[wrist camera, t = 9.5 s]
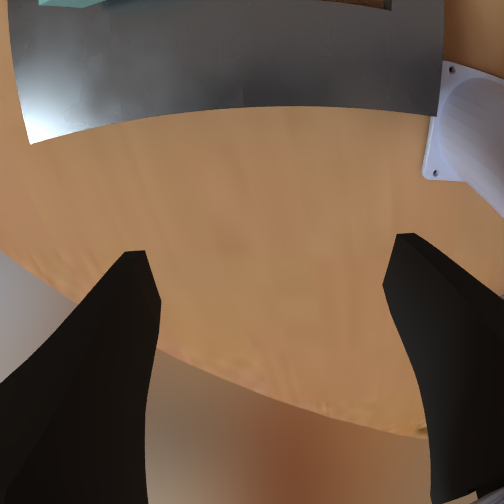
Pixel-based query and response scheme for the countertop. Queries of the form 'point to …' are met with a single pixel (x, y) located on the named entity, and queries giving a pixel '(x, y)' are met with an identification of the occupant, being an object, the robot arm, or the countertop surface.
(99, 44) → the keyhole bracket
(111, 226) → the countertop surface
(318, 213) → the countertop surface
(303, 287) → the countertop surface
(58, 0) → the peg
